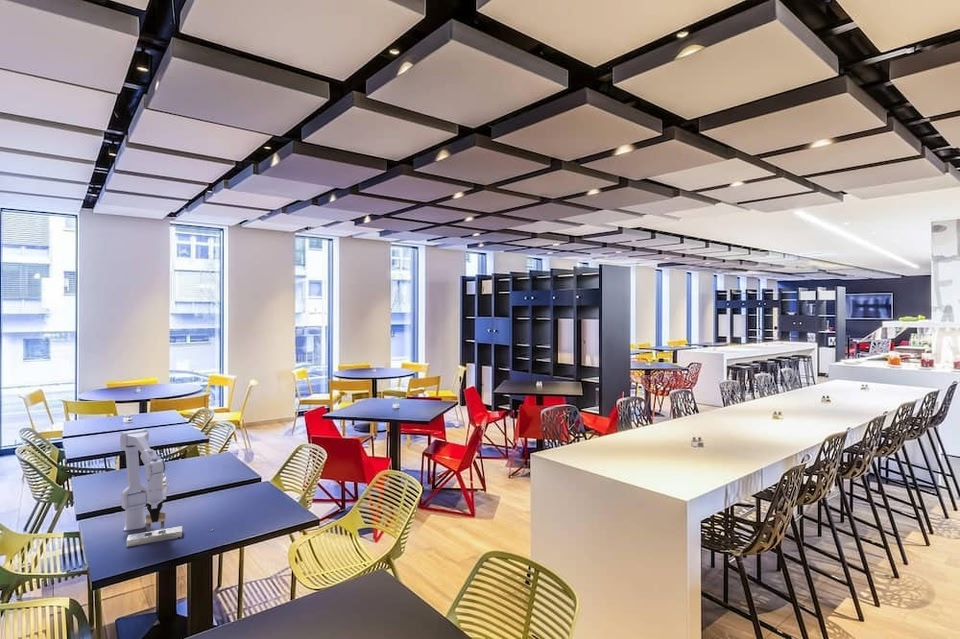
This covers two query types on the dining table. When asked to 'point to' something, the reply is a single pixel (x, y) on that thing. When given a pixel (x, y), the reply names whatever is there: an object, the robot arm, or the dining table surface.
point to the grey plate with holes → (154, 536)
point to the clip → (149, 521)
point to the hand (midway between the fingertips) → (155, 520)
